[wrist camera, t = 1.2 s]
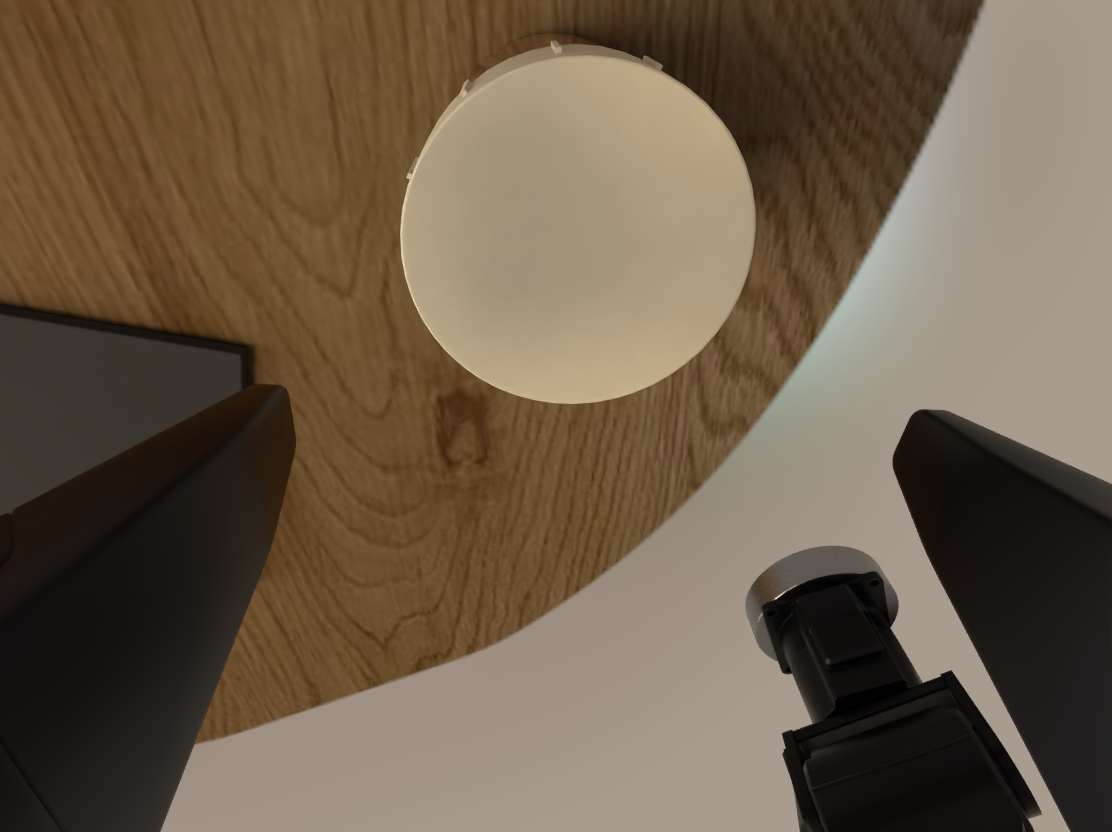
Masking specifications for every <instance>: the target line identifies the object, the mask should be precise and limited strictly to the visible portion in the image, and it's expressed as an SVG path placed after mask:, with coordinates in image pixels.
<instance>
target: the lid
mask: <svg viewBox="0 0 1112 832" xmlns="http://www.w3.org/2000/svg"><path fill="white" fill-rule="evenodd" d="M662 67H663V65H661V64H660V63H658V62H656V61H654V60H653V59H651V58H649V57H647V56H645V55H644V57H643V59H639V58H637V57H635V56H632V55H630V54H627V53H625V52H622V51H618V50H614V49H610V48H606V47H602V46H594V45H583V44H569V45H559V43H558V42H557V41H556V40H555V41H551V46H549V47H544V48H539V49H535V50H530V51H528V52H525V53H522V54H520V55H517V56H514V57H511V58H509V59H507V60H505V61H503V62H501V63H500V64H498V65H496V66H494V67H492V68H491V69H489V70H487V71H486V72H484V73H483V74H482V75H480V76H479V77H478V78H477V79H475V80H474V81H473V82H470V81H469V79H468V80H466V81H465V82H464V84H463V87H462V89H461V92H460V94H459V95H458V96H457V97H456V98H455V99H454V100H453V101H452V102H451V103H450V105H449V106H448V108H447V109H446V110H445V112H444V113H443V114H442V116H441V117H440V118H439V120H438V121H437V123H436V125H435V127H434V129H433V131H432V132H431V134H430V136H429V138H428V140H427V142H426V144H425V146H424V148H423V150H422V152H421V154H420V156H419V157H416V158H415V160H414V162H413V164H412V166H411V168H410V170H409V172H408V175H407V178H408V179H410V181H409V184H408V187H407V191H406V196H405V200H404V204H403V209H402V219H401V231H400V236H401V256H402V262H403V267H404V272H405V278H406V281H407V284H408V287H409V290H410V293H411V296H412V299H413V301H414V303H415V305H416V307H417V309H418V312H419V314H420V316H421V318H422V319H423V321H424V322H425V324H426V326H427V327H428V329H429V330H430V332H431V333H432V335H433V336H434V337H435V339H436V340H437V341H438V342H439V343H440V344H441V346H442V347H443V348H444V349H445V350H446V351H447V353H449V354H450V355H451V356H452V357H453V358H454V359H455V360H456V361H457V362H458V363H460V364H461V365H462V366H463V367H464V368H466V369H467V370H469V371H470V372H471V373H473V374H474V375H476V376H477V377H478V378H480V379H482V380H484V381H486V382H487V383H489V384H491V385H493V386H495V387H497V388H499V389H502V390H504V391H507V392H509V393H512V394H514V395H517V396H521V397H525V398H529V399H532V400H537V401H544V402H551V403H566V404H579V403H592V402H599V401H604V400H610V399H615V398H618V397H621V396H625V395H628V394H631V393H634V392H637V391H639V390H641V389H644V388H646V387H648V386H651V385H653V384H655V383H656V382H658V381H660V380H662V379H664V378H665V377H667V376H669V375H671V374H672V373H673V372H675V371H676V370H678V369H679V368H680V367H682V366H683V365H685V364H686V363H687V362H688V361H690V360H691V359H692V358H693V357H694V356H695V355H696V354H697V353H699V352H700V351H701V350H702V349H703V348H704V347H705V346H706V344H707V343H708V342H709V341H710V340H711V339H712V338H713V337H714V335H715V334H716V333H717V332H718V330H719V329H720V328H721V326H722V325H723V323H724V322H725V320H726V319H727V318H728V316H729V314H730V313H731V311H732V309H733V307H734V305H735V303H736V301H737V300H738V298H739V296H740V293H741V291H742V288H743V285H744V283H745V280H746V278H747V275H748V271H749V267H750V263H751V259H752V255H753V249H754V240H755V232H756V222H755V203H754V196H753V189H752V184H751V181H750V177H749V174H748V170H747V167H746V163H745V161H744V159H743V157H742V155H741V152H740V150H739V148H738V146H737V144H736V142H735V140H734V138H733V137H732V134H731V132H730V130H728V129H727V128H726V126H725V124H724V123H723V121H722V120H721V119H720V118H719V117H718V116H717V115H716V113H715V112H714V111H713V110H712V109H711V108H710V107H709V105H708V104H707V103H706V102H705V101H703V100H702V99H701V98H700V97H699V96H697V95H696V94H695V93H694V92H693V91H692V90H690V89H689V88H688V87H687V86H685V85H684V84H682V83H680V82H679V81H677V80H675V79H674V78H672V77H671V76H669V75H667V74H666V73H664V72H662V71H661V69H662Z"/></svg>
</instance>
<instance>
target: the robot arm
mask: <svg viewBox="0 0 1112 832" xmlns="http://www.w3.org/2000/svg"><path fill="white" fill-rule="evenodd" d="M295 447H296V436H295V429H294V423H293V417H292V411H291V405H290V399H289V394H288V392H287V390H286V388H285V387H284V386H282V385H271V384H253V385H250V386H248V387H246V388H244V389H243V390H241V391H239V392H237V393H235V394H233V395H231V396H229V397H227V398H225V399H223V400H222V401H220V402H218V403H216V404H214V405H212V406H210V407H208V408H206V409H204V410H202V411H200V412H199V413H197V414H195V415H193V416H191V417H189V418H187V419H185V420H183V421H181V422H179V423H177V424H176V425H174V426H172V427H170V428H168V429H166V430H164V431H162V432H160V433H158V434H156V435H154V436H153V437H151V438H149V439H147V440H145V441H143V442H141V443H139V444H137V445H135V446H133V447H131V448H130V449H128V450H126V451H124V452H122V453H120V454H118V455H116V456H114V457H112V458H110V459H109V460H107V461H105V462H103V463H101V464H99V465H97V466H95V467H93V468H91V469H89V470H87V471H86V472H84V473H82V474H80V475H78V476H76V477H74V478H72V479H70V480H68V481H66V482H64V483H63V484H61V485H59V486H57V487H55V488H53V489H51V490H49V491H47V492H45V493H43V494H41V495H40V496H38V497H36V498H34V499H32V500H30V501H28V502H26V503H24V504H22V505H20V506H19V507H17V508H15V509H14V510H13V512H12V514H10V513H5V514H3V515H1V516H0V832H160V831H161V829H162V826H163V824H164V821H165V818H166V816H167V813H168V811H169V808H170V806H171V803H172V800H173V798H174V795H175V793H176V790H177V788H178V785H179V783H180V780H181V777H182V775H183V772H184V770H185V767H186V764H187V762H188V759H189V757H190V754H191V752H192V749H193V747H194V744H195V741H196V739H197V736H198V734H199V731H200V729H201V726H202V724H203V721H204V718H205V716H206V713H207V711H208V708H209V706H210V703H211V700H212V698H213V695H214V693H215V690H216V688H217V685H218V683H219V680H220V677H221V675H222V672H223V670H224V667H225V665H226V662H227V659H228V657H229V654H230V652H231V649H232V647H233V644H234V642H235V639H236V636H237V634H238V631H239V629H240V626H241V624H242V621H243V618H244V616H245V613H246V611H247V608H248V606H249V603H250V601H251V598H252V595H253V593H254V590H255V588H256V585H257V583H258V580H259V577H260V575H261V572H262V570H263V567H264V565H265V562H266V559H267V557H268V554H269V551H270V548H271V545H272V542H273V538H274V535H275V531H276V527H277V523H278V519H279V515H280V511H281V507H282V503H283V499H284V495H285V490H286V486H287V482H288V478H289V474H290V470H291V466H292V462H293V458H294V454H295ZM893 470H894V473H895V475H896V478H897V480H898V483H899V485H900V488H901V491H902V493H903V496H904V498H905V501H906V503H907V506H908V508H909V511H910V514H911V516H912V519H913V521H914V524H915V526H916V529H917V532H918V534H919V537H920V539H921V542H922V544H923V547H924V549H925V551H926V553H927V556H928V558H929V560H930V562H931V564H932V566H933V568H934V570H935V572H936V574H937V575H938V578H939V580H940V582H941V584H942V586H943V587H944V589H945V591H946V593H947V595H948V597H949V599H950V601H951V603H952V605H953V607H954V609H955V611H956V612H957V614H958V616H959V618H960V620H961V622H962V624H963V626H964V628H965V630H966V632H967V634H968V636H969V638H970V639H971V641H972V643H973V645H974V647H975V649H976V651H977V653H978V655H979V657H980V659H981V660H982V663H983V664H984V666H985V668H986V670H987V672H988V674H989V676H990V678H991V680H992V681H993V684H994V685H995V687H996V689H997V691H998V693H999V695H1000V697H1001V699H1002V701H1003V703H1004V705H1005V707H1006V709H1007V711H1008V713H1009V714H1010V716H1011V718H1012V720H1013V722H1014V724H1015V726H1016V728H1017V730H1018V732H1019V734H1020V736H1021V738H1022V739H1023V741H1024V743H1025V745H1026V747H1027V749H1028V751H1029V753H1030V755H1031V757H1032V759H1033V761H1034V763H1035V764H1036V766H1037V768H1038V770H1039V772H1040V774H1041V776H1042V778H1043V780H1044V782H1045V784H1046V786H1047V787H1048V790H1049V791H1050V793H1051V795H1052V797H1053V799H1054V801H1055V803H1056V805H1057V807H1058V809H1059V811H1060V813H1061V815H1062V816H1063V818H1064V820H1065V822H1066V824H1067V826H1068V828H1069V830H1070V832H1112V484H1110V483H1108V482H1106V481H1104V480H1102V479H1099V478H1097V477H1095V476H1093V475H1090V474H1088V473H1086V472H1083V471H1081V470H1079V469H1077V468H1075V467H1072V466H1070V465H1068V464H1066V463H1063V462H1061V461H1059V460H1056V459H1054V458H1052V457H1050V456H1047V455H1045V454H1043V453H1041V452H1039V451H1036V450H1034V449H1032V448H1030V447H1027V446H1025V445H1023V444H1020V443H1018V442H1016V441H1014V440H1011V439H1009V438H1007V437H1005V436H1003V435H1000V434H998V433H996V432H994V431H991V430H989V429H987V428H985V427H983V426H980V425H978V424H976V423H974V422H971V421H969V420H967V419H964V418H962V417H960V416H958V415H956V414H953V413H951V412H949V411H945V410H928V409H927V410H926V409H922V410H919V411H916V412H915V413H914V414H913V415H912V416H911V417H910V419H909V421H908V423H907V426H906V428H905V430H904V432H903V434H902V436H901V439H900V441H899V443H898V445H897V447H896V450H895V452H894V455H893ZM761 611H762V614H763V617H764V620H765V624H766V627H767V630H768V633H769V636H770V639H771V642H772V645H773V648H774V651H775V654H776V657H777V660H778V663H779V666H780V669H781V671H782V673H784V674H793V676H794V678H795V681H796V683H797V686H798V688H799V691H800V693H801V696H802V698H803V701H804V703H805V706H806V708H807V710H808V713H809V715H810V718H811V720H812V723H813V724H811V725H808V726H805V727H803V728H800V729H797V730H795V731H793V730H789V731H786V732H784V733H782V736H783V739H784V743H785V747H786V749H784V752H783V754H782V755H783V758H784V761H785V763H786V766H787V769H788V772H789V775H790V778H791V780H792V784H793V788H794V793H795V799H796V807H797V814H798V821H799V828H800V832H1034V830H1033V827H1032V825H1031V824H1030V822H1029V820H1028V818H1032V817H1035V816H1038V815H1042V813H1041V810H1040V808H1039V806H1038V804H1037V802H1036V800H1035V798H1034V797H1033V795H1032V793H1031V791H1030V789H1029V788H1028V786H1027V784H1026V782H1025V781H1024V779H1023V777H1022V776H1021V774H1020V772H1019V771H1018V769H1017V767H1016V766H1015V764H1014V762H1013V761H1012V759H1011V758H1010V756H1009V754H1008V753H1007V751H1006V750H1005V748H1004V747H1003V745H1002V743H1001V742H1000V740H999V739H998V737H997V736H996V734H995V733H994V732H993V730H992V729H991V727H990V726H989V724H988V723H987V721H986V720H985V719H984V717H983V716H982V714H981V713H980V711H979V710H978V708H977V707H976V705H975V704H974V702H973V701H972V700H971V698H970V697H969V695H968V694H967V692H966V691H965V689H964V688H963V686H962V685H961V684H960V682H959V681H958V679H957V678H956V676H955V675H954V673H953V672H952V671H948V672H945V673H943V674H940V675H941V676H940V677H938V678H935V679H932V680H930V681H927V682H924V683H922V680H921V679H920V677H919V675H918V674H917V672H916V670H915V669H914V667H913V666H912V663H911V662H910V660H909V658H908V657H907V655H906V653H905V652H904V650H903V648H902V647H901V645H900V643H899V641H898V640H897V638H896V636H895V635H894V633H893V631H892V629H891V626H890V620H889V614H888V607H887V601H886V594H885V588H884V581H883V579H882V577H881V576H880V574H879V573H878V572H876V571H871V572H867V573H864V574H860V575H857V576H853V577H850V578H847V579H843V580H840V581H837V582H833V583H830V584H827V585H823V586H820V587H817V588H813V589H810V590H807V591H803V592H800V593H796V594H793V595H790V596H786V597H783V598H780V599H776V600H773V601H770V602H767V603H765V604H764V605H762V607H761Z"/></svg>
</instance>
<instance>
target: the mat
mask: <svg viewBox="0 0 1112 832" xmlns="http://www.w3.org/2000/svg"><path fill="white" fill-rule="evenodd" d="M246 387H247V349H246V347H242V346H236V345H230V344H225V343H219V342H213V341H207V340H201V339H195V338H189V337H183V336H178V335H172V334H166V333H160V332H154V331H148V330H142V329H137V328H131V327H125V326H119V325H113V324H107V323H101V322H95V321H90V320H84V319H78V318H72V317H66V316H60V315H54V314H48V313H43V312H37V311H31V310H25V309H19V308H13V307H7V306H2V305H0V516H1V515H3V514H5V513H10V514H12V512H13V510H14V509H15V508H17V507H19V506H20V505H22V504H24V503H26V502H28V501H30V500H32V499H34V498H36V497H38V496H40V495H41V494H43V493H45V492H47V491H49V490H51V489H53V488H55V487H57V486H59V485H61V484H63V483H64V482H66V481H68V480H70V479H72V478H74V477H76V476H78V475H80V474H82V473H84V472H86V471H87V470H89V469H91V468H93V467H95V466H97V465H99V464H101V463H103V462H105V461H107V460H109V459H110V458H112V457H114V456H116V455H118V454H120V453H122V452H124V451H126V450H128V449H130V448H131V447H133V446H135V445H137V444H139V443H141V442H143V441H145V440H147V439H149V438H151V437H153V436H154V435H156V434H158V433H160V432H162V431H164V430H166V429H168V428H170V427H172V426H174V425H176V424H177V423H179V422H181V421H183V420H185V419H187V418H189V417H191V416H193V415H195V414H197V413H199V412H200V411H202V410H204V409H206V408H208V407H210V406H212V405H214V404H216V403H218V402H220V401H222V400H223V399H225V398H227V397H229V396H231V395H233V394H235V393H237V392H239V391H241V390H243V389H244V388H246Z"/></svg>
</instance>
